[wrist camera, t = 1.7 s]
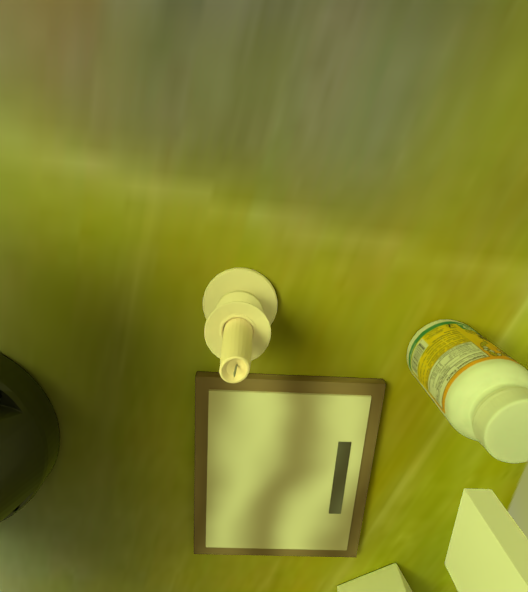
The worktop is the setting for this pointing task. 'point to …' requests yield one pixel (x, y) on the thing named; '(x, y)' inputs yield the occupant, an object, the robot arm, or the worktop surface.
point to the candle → (238, 319)
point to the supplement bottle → (474, 386)
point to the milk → (378, 581)
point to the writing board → (283, 463)
